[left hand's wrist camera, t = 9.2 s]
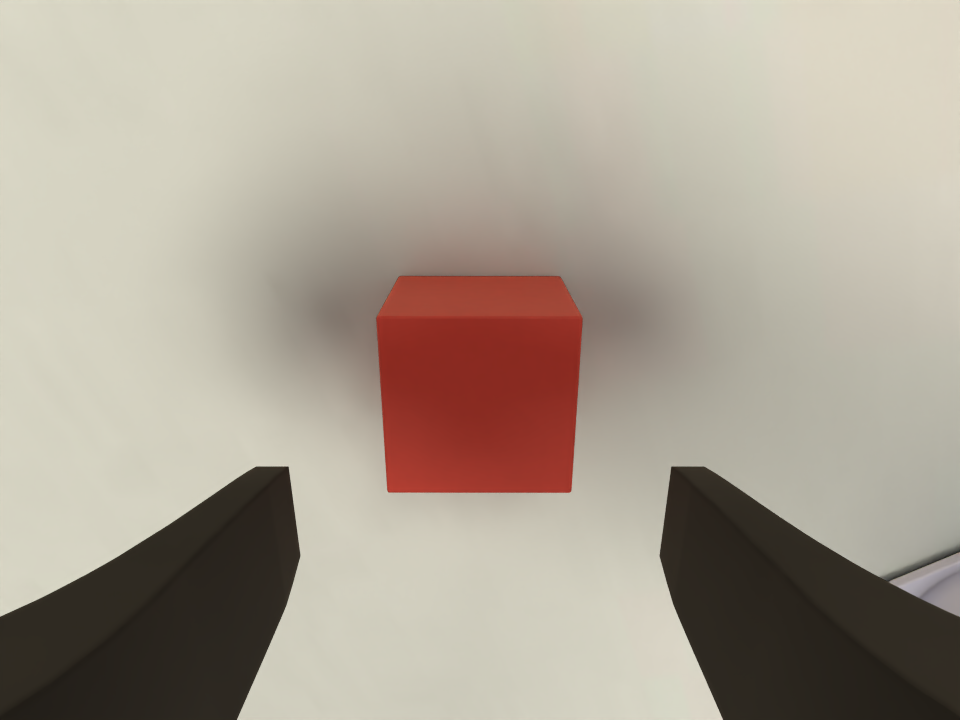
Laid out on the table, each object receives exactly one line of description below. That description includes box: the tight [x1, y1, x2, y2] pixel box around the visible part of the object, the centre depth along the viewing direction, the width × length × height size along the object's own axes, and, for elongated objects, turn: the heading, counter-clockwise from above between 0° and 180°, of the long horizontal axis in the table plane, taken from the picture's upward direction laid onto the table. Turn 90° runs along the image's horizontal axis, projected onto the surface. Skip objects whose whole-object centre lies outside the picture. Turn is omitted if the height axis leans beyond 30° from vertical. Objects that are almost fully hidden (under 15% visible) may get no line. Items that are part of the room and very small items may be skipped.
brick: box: [376, 276, 583, 493], centre depth 17 cm, size 5×5×4 cm
